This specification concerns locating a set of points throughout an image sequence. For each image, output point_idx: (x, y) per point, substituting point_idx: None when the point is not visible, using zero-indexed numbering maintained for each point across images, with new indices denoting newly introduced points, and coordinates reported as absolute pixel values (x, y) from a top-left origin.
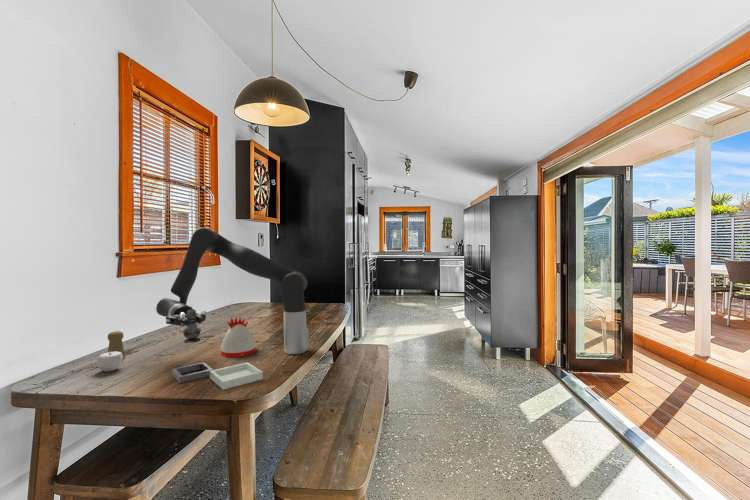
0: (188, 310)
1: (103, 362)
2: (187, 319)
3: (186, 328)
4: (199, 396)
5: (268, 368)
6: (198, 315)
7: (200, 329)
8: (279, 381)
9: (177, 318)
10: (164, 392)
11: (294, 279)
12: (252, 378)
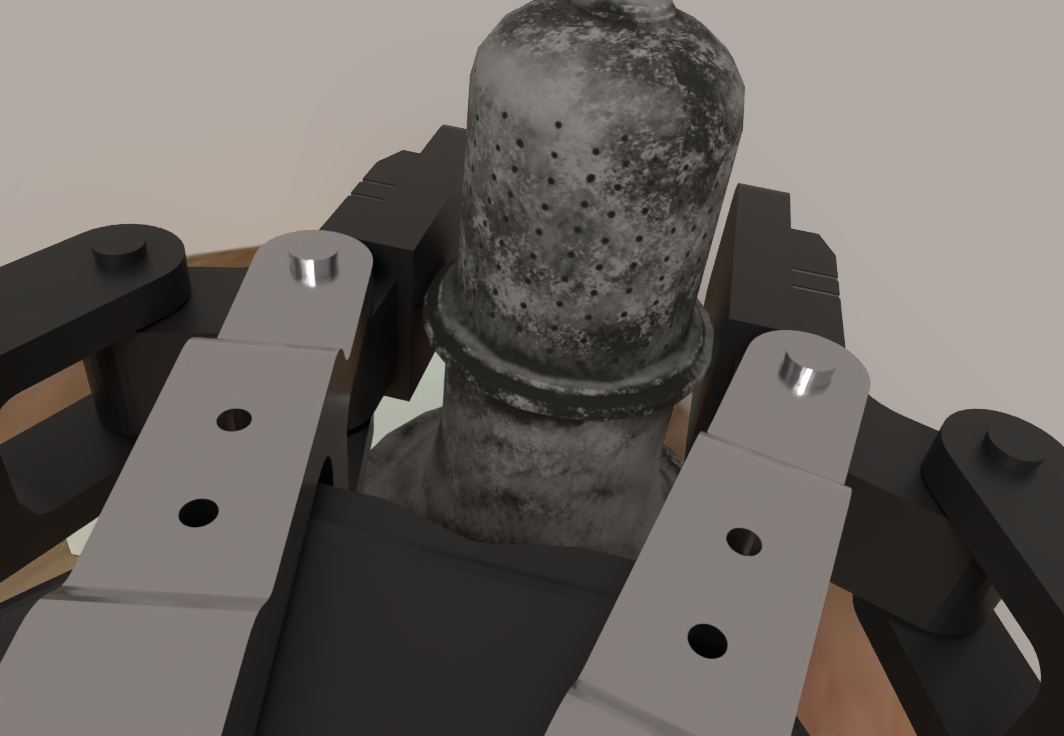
0: (717, 39)
1: None
2: (752, 189)
3: (658, 511)
4: (675, 431)
5: (4, 431)
6: (344, 238)
7: (384, 450)
8: (240, 262)
9: (961, 423)
10: (860, 684)
11: None
12: None
